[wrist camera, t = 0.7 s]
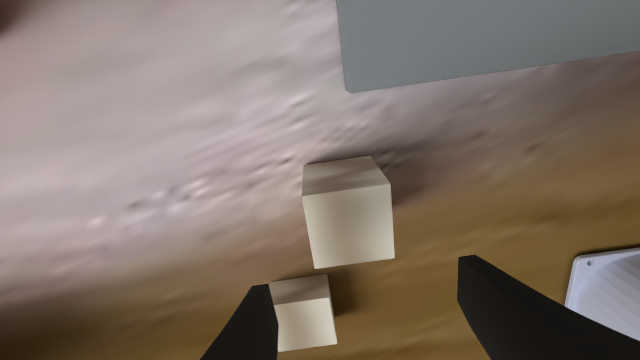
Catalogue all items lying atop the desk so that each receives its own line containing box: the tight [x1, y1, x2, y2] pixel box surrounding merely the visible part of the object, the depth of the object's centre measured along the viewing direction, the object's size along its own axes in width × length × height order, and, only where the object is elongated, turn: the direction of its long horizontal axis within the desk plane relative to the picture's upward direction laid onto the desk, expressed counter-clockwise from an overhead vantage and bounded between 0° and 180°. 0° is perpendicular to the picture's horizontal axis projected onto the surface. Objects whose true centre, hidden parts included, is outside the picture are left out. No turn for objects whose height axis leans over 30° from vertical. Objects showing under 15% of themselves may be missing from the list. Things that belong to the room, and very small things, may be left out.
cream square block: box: [302, 156, 395, 269], centre depth 18 cm, size 4×4×5 cm
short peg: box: [270, 274, 337, 352], centre depth 22 cm, size 4×4×2 cm
